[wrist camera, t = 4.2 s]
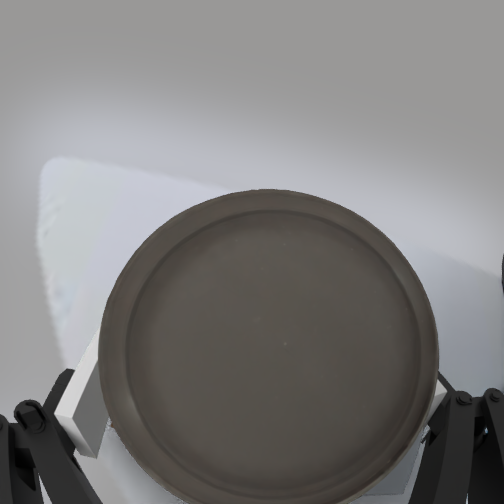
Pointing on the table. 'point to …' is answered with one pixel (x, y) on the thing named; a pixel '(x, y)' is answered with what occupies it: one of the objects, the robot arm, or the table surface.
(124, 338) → the coffee can
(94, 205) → the table surface
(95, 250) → the table surface
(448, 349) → the table surface
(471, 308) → the table surface
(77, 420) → the robot arm
